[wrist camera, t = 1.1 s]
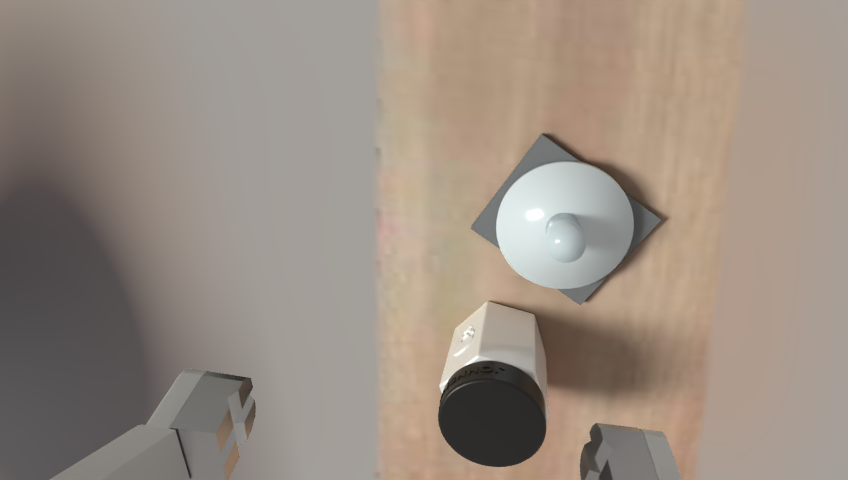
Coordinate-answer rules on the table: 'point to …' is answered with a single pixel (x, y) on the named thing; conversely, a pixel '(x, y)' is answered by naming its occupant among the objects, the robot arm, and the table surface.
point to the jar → (495, 387)
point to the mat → (545, 153)
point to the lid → (564, 224)
